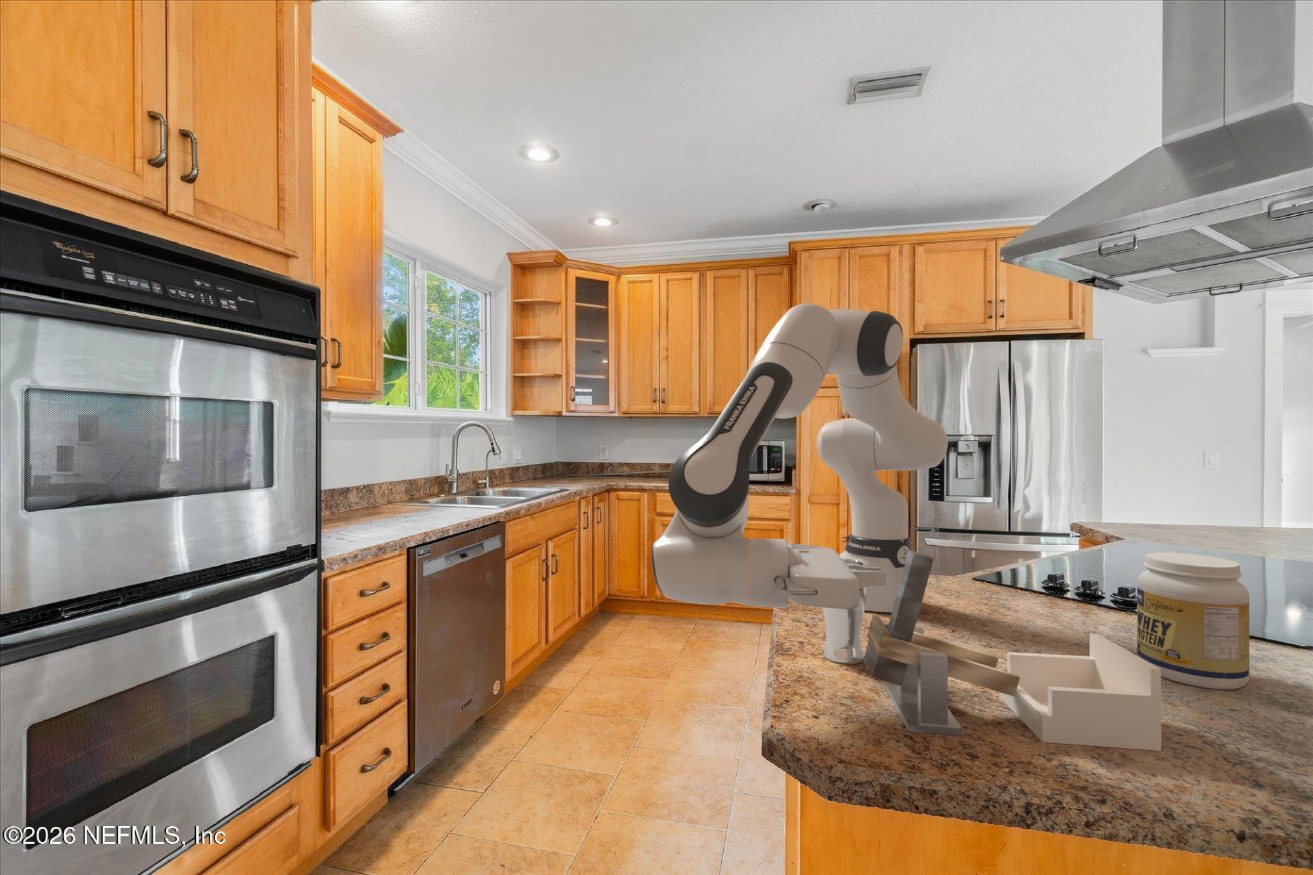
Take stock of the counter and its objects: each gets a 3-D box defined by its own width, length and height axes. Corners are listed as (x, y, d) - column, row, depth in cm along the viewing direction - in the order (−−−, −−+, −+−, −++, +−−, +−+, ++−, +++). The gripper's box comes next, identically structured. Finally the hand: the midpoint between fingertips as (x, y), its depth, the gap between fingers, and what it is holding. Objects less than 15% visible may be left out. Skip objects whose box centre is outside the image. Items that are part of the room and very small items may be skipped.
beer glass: (834, 645, 98) (833, 556, 98) (874, 656, 93) (874, 562, 93) (812, 656, 93) (811, 562, 93) (853, 668, 88) (853, 569, 88)
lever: (872, 679, 72) (906, 554, 71) (860, 655, 80) (891, 542, 79) (1009, 722, 69) (1046, 592, 69) (983, 693, 77) (1016, 576, 76)
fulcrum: (908, 731, 69) (907, 655, 69) (886, 689, 81) (885, 624, 81) (962, 735, 68) (962, 658, 68) (932, 692, 80) (932, 626, 80)
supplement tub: (1117, 657, 93) (1117, 549, 93) (1201, 660, 91) (1200, 551, 91) (1178, 690, 80) (1177, 566, 80) (1276, 694, 79) (1275, 568, 79)
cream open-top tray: (1042, 741, 67) (1042, 662, 67) (999, 696, 79) (998, 629, 79) (1161, 750, 65) (1160, 669, 65) (1098, 702, 77) (1098, 633, 77)
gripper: (777, 564, 67) (904, 568, 65) (770, 536, 87) (868, 539, 85) (777, 619, 67) (904, 626, 65) (770, 579, 87) (868, 582, 85)
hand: (883, 576), depth 75 cm, fingers closed
